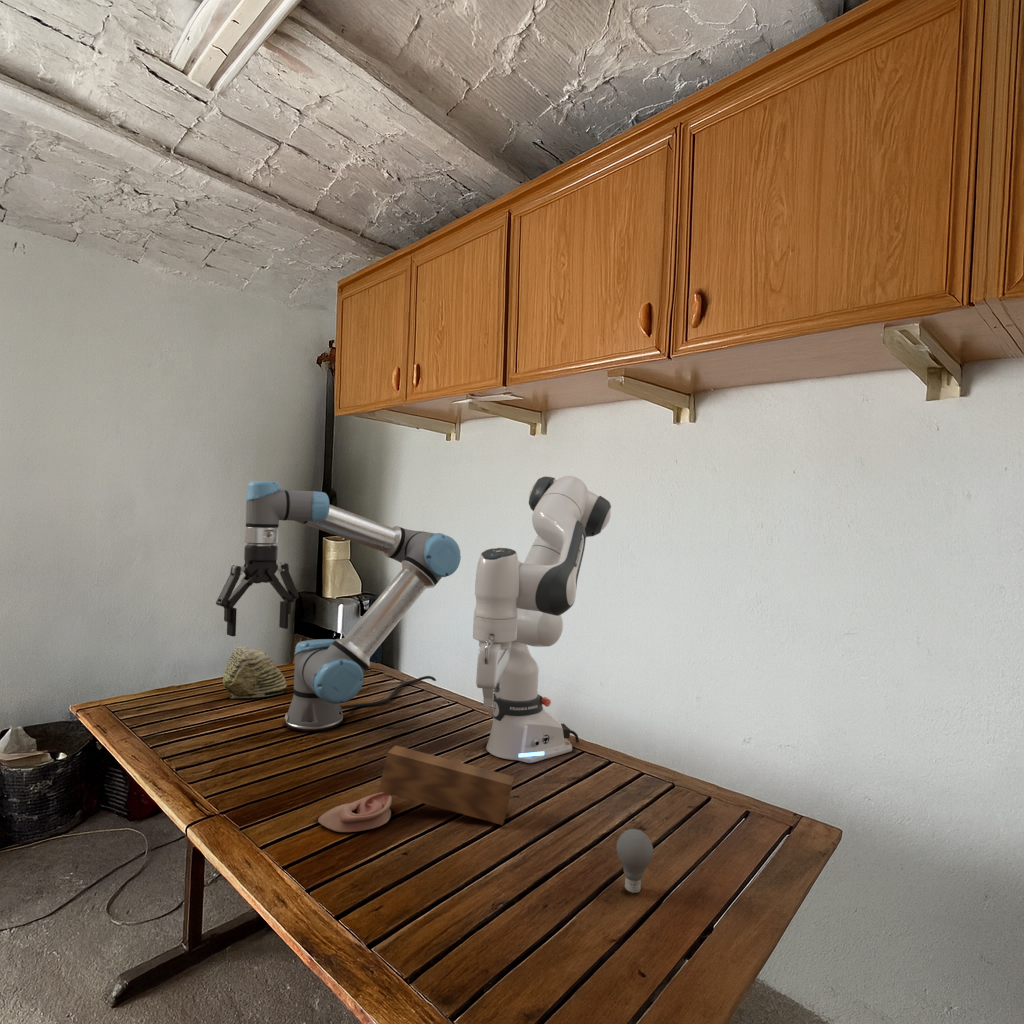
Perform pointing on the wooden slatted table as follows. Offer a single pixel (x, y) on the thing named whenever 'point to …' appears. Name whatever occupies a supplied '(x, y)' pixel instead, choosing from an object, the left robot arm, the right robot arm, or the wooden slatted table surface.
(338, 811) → the anatomical model
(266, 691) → the fossil
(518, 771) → the wooden slatted table surface
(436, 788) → the bar
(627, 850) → the light bulb
